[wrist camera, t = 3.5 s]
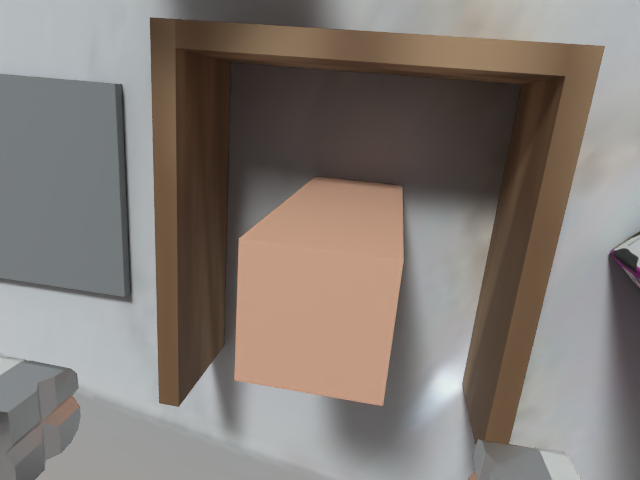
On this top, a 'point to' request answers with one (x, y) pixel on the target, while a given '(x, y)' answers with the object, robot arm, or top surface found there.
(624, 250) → the candy bar box
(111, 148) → the slate coaster
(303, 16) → the top surface
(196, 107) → the walnut bay
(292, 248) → the terracotta block
